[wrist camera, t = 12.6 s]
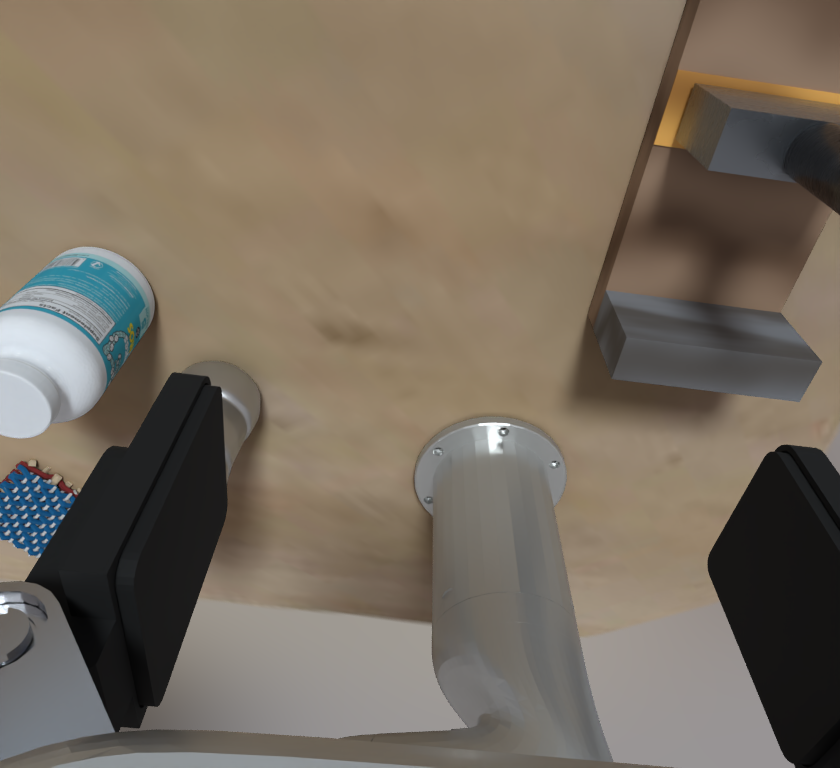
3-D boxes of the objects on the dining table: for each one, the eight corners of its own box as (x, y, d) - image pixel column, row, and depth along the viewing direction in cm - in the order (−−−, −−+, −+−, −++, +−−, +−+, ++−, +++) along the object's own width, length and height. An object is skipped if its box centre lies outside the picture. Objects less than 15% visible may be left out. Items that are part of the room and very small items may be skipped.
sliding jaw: (842, 163, 39) (1041, 287, 26) (675, 139, 38) (794, 253, 25) (869, 109, 37) (1097, 213, 24) (694, 83, 36) (833, 175, 24)
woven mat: (77, 564, 65) (68, 581, 64) (-27, 506, 61) (-40, 523, 59) (137, 514, 61) (129, 531, 59) (30, 448, 57) (18, 464, 55)
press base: (750, 335, 48) (799, 401, 42) (587, 314, 48) (611, 378, 41) (967, -110, 33) (1096, -115, 27) (734, -150, 33) (809, -165, 26)
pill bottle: (122, 353, 50) (34, 478, 39) (31, 288, 47) (-92, 404, 36) (180, 293, 47) (101, 410, 36) (86, 219, 44) (-30, 322, 33)
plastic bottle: (179, 342, 50) (52, 554, 33) (270, 358, 50) (190, 573, 34) (179, 409, 53) (65, 630, 37) (264, 423, 54) (190, 646, 38)
